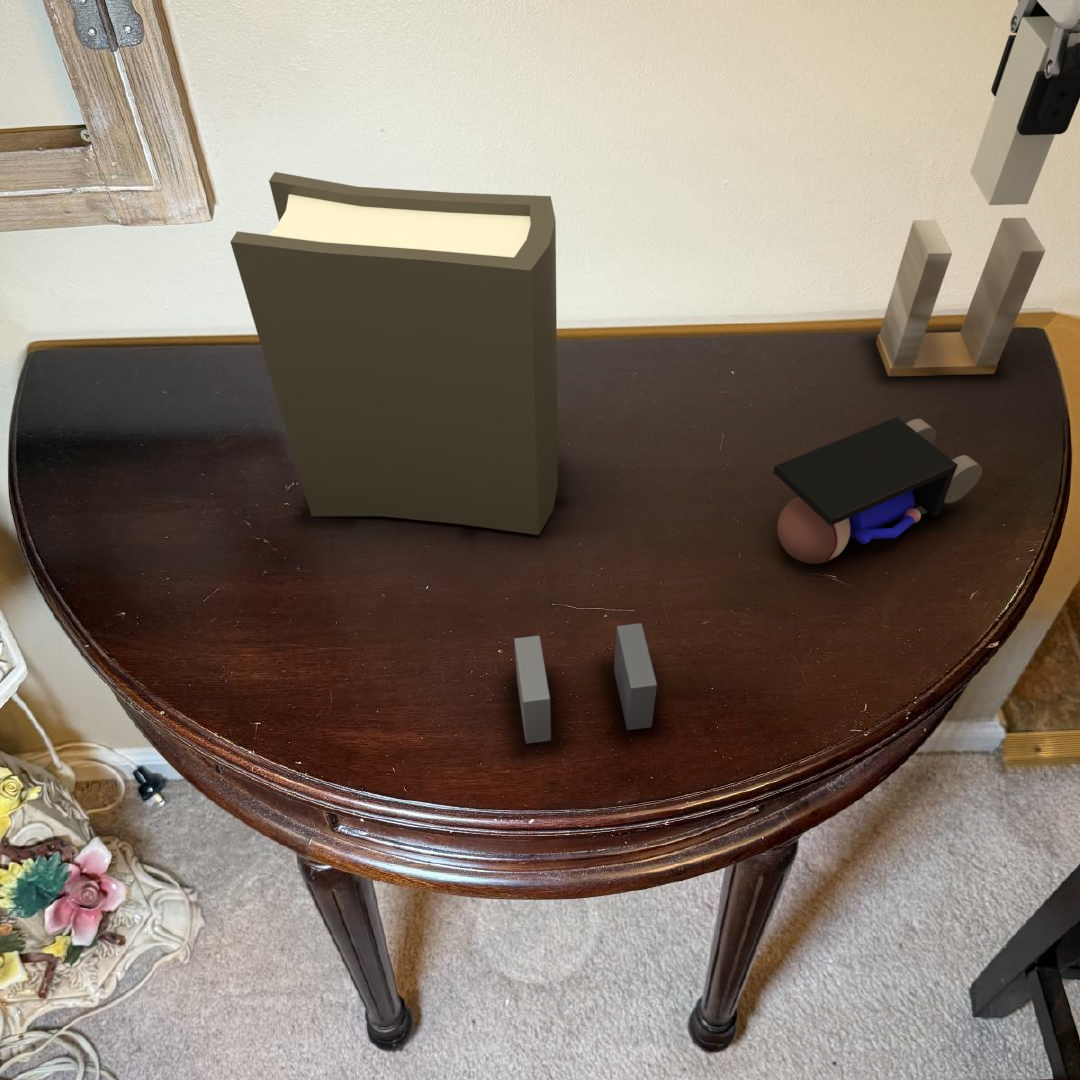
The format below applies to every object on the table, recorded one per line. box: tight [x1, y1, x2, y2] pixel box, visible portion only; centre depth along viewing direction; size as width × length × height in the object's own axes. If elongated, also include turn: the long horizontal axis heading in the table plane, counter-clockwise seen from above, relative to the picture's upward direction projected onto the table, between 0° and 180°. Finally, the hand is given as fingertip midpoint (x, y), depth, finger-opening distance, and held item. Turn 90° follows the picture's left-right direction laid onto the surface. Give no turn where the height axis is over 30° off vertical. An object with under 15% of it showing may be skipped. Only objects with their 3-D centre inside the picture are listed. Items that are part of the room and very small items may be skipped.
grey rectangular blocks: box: [513, 622, 658, 744], centre depth 61 cm, size 8×5×5 cm, turn 98°
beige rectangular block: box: [969, 16, 1080, 206], centre depth 67 cm, size 3×5×11 cm, turn 1°
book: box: [229, 171, 559, 536], centre depth 66 cm, size 18×8×24 cm, turn 81°
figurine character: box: [773, 416, 983, 565], centre depth 70 cm, size 7×8×15 cm
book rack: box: [875, 217, 1046, 378], centre depth 80 cm, size 9×5×12 cm, turn 91°
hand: (1027, 110), depth 67 cm, fingers closed on beige rectangular block, 4 cm apart
